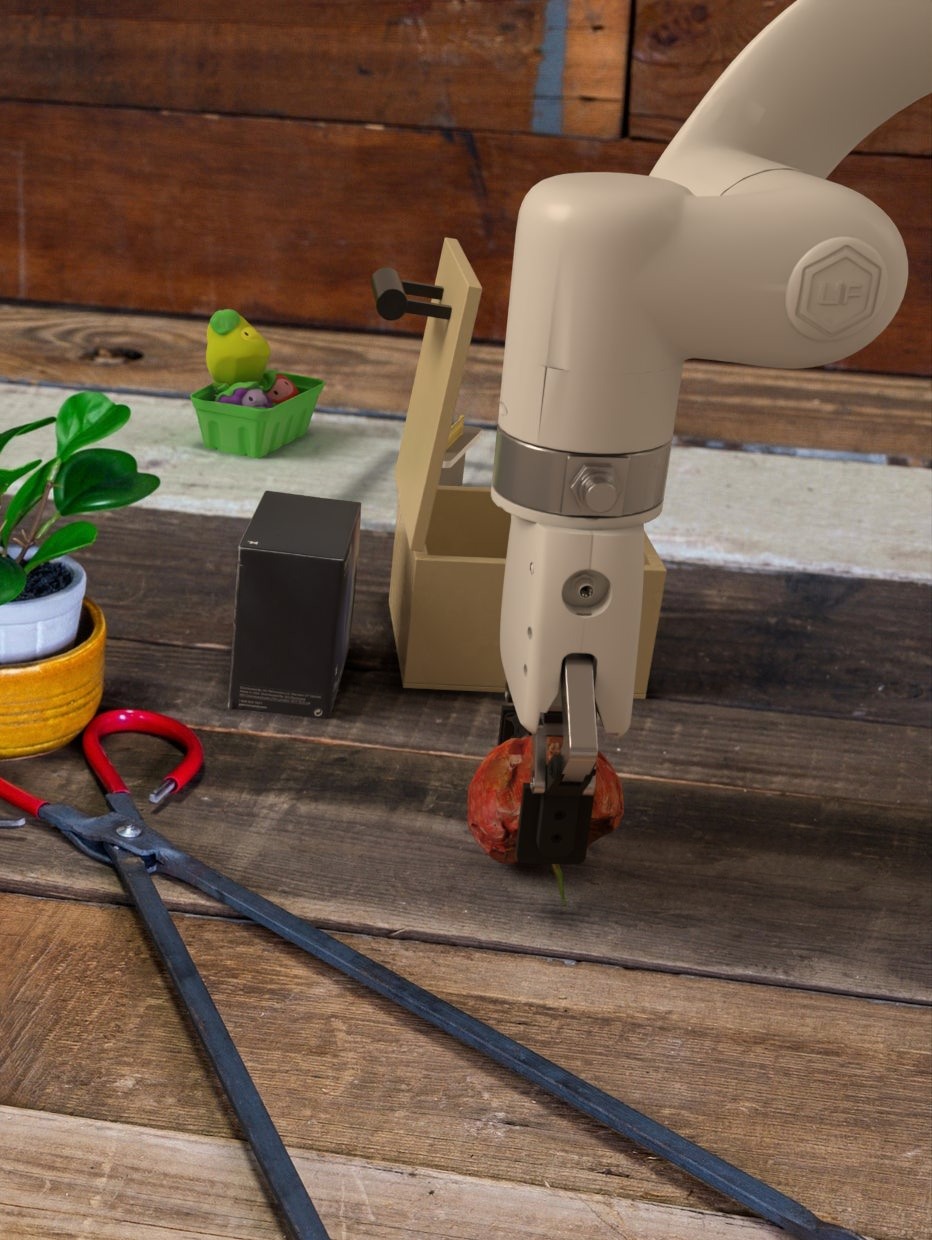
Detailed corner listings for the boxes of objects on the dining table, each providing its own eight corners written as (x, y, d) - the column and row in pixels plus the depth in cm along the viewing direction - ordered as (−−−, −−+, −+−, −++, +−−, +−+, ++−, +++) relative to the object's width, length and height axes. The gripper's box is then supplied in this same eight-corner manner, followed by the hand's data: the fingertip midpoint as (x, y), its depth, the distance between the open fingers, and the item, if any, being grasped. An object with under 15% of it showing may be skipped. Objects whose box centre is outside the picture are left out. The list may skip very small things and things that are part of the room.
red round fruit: (629, 922, 82) (596, 737, 86) (652, 871, 76) (615, 674, 80) (477, 935, 83) (452, 750, 87) (486, 886, 76) (459, 688, 80)
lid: (457, 239, 103) (375, 225, 102) (482, 287, 90) (389, 272, 90) (405, 477, 110) (328, 465, 109) (423, 552, 97) (336, 539, 97)
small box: (335, 728, 97) (348, 558, 92) (224, 716, 98) (231, 547, 93) (353, 654, 106) (366, 497, 102) (251, 644, 107) (260, 487, 103)
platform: (328, 524, 128) (334, 440, 125) (398, 459, 143) (405, 383, 140) (481, 550, 124) (491, 465, 121) (537, 481, 139) (547, 404, 136)
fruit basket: (263, 470, 139) (271, 334, 134) (172, 451, 143) (175, 318, 138) (325, 437, 148) (334, 308, 143) (237, 419, 152) (242, 293, 146)
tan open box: (604, 617, 113) (623, 493, 110) (644, 706, 101) (667, 570, 97) (388, 607, 114) (399, 483, 110) (402, 695, 102) (415, 558, 98)
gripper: (711, 542, 66) (650, 919, 74) (627, 414, 82) (584, 738, 90) (520, 537, 66) (480, 914, 74) (472, 410, 82) (444, 734, 90)
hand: (537, 815), depth 82 cm, fingers closed on red round fruit, 7 cm apart
